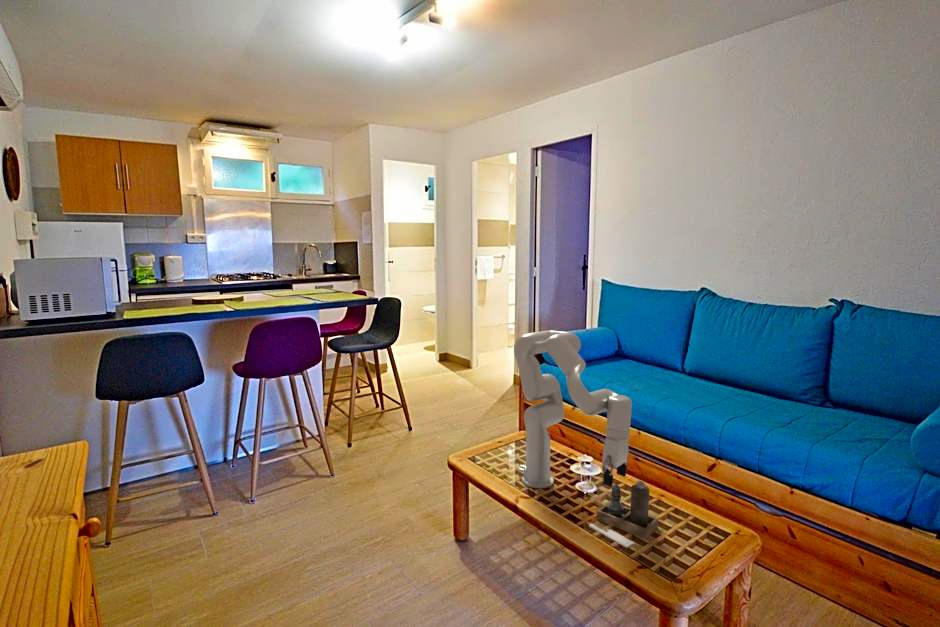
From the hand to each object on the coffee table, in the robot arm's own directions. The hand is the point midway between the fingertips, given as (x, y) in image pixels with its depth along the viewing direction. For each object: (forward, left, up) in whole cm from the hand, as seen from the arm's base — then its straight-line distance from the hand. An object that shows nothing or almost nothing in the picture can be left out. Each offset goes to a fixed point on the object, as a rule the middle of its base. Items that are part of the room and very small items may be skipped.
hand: (614, 480), depth 167 cm
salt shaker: (+1, 0, -13) cm, 13 cm away
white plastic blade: (+4, -9, -14) cm, 18 cm away
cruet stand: (+5, 0, -14) cm, 15 cm away
